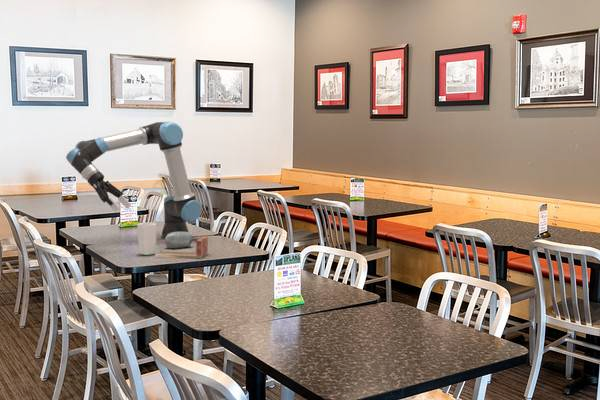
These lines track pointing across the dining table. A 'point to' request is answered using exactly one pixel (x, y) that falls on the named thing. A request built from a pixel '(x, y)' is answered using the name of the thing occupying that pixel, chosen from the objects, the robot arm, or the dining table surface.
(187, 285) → the dining table surface
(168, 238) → the grey stone
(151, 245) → the cup
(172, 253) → the board
